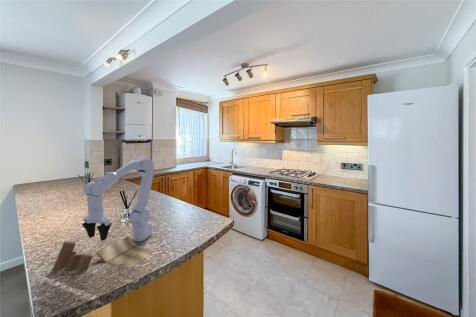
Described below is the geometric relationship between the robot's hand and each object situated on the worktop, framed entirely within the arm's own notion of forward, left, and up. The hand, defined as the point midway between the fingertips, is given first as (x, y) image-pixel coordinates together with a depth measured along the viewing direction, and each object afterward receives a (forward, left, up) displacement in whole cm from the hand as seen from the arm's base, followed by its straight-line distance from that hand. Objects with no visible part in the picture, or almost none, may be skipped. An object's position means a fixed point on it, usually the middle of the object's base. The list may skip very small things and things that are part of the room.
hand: (97, 238), depth 95 cm
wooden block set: (+9, -5, -10) cm, 14 cm away
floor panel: (-6, +15, -10) cm, 18 cm away
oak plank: (-6, +5, -7) cm, 11 cm away
